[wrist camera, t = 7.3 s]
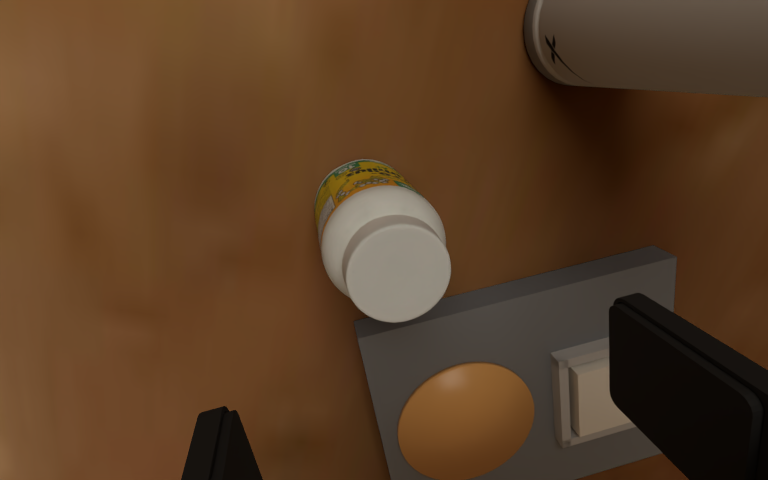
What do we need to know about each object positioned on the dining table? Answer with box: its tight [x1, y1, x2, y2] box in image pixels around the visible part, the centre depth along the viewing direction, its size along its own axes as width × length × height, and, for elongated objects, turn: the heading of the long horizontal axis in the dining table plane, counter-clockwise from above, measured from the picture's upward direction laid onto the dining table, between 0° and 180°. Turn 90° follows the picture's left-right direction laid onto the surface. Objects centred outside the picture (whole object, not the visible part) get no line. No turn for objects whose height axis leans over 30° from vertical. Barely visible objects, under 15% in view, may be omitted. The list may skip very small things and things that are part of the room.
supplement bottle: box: [315, 159, 451, 323], centre depth 22 cm, size 5×5×10 cm
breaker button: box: [568, 356, 631, 437], centre depth 31 cm, size 5×5×3 cm
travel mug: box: [524, 0, 768, 97], centre depth 15 cm, size 6×7×20 cm
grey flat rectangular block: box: [354, 245, 677, 480], centre depth 31 cm, size 20×16×3 cm
